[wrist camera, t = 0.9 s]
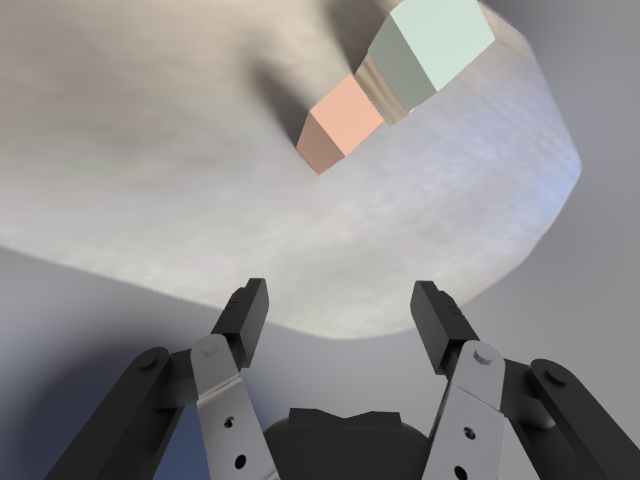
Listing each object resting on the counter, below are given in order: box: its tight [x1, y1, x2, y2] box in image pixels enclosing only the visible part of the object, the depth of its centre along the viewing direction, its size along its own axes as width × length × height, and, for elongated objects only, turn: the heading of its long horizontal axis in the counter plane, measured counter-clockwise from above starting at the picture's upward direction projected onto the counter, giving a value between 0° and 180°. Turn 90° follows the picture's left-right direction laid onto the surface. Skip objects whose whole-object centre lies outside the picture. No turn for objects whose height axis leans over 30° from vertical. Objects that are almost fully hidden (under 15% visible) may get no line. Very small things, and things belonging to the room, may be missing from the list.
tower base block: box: [354, 52, 415, 127], centre depth 29 cm, size 8×8×5 cm
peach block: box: [296, 74, 384, 175], centre depth 24 cm, size 4×4×12 cm
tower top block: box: [367, 0, 495, 112], centre depth 24 cm, size 8×8×5 cm
